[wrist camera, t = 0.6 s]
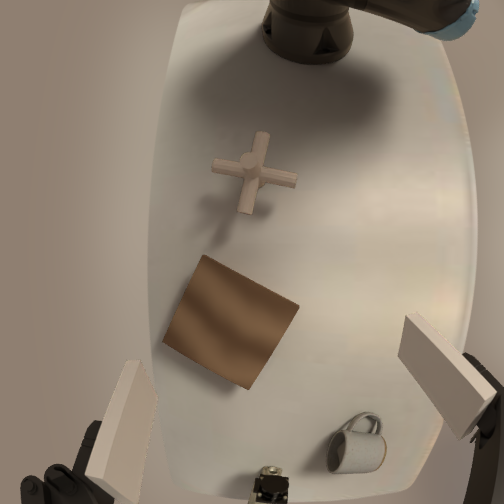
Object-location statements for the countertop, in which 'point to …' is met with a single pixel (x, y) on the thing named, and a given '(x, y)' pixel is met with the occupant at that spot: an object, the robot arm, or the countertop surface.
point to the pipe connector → (254, 172)
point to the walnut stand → (228, 322)
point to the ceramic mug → (356, 449)
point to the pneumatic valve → (270, 487)
